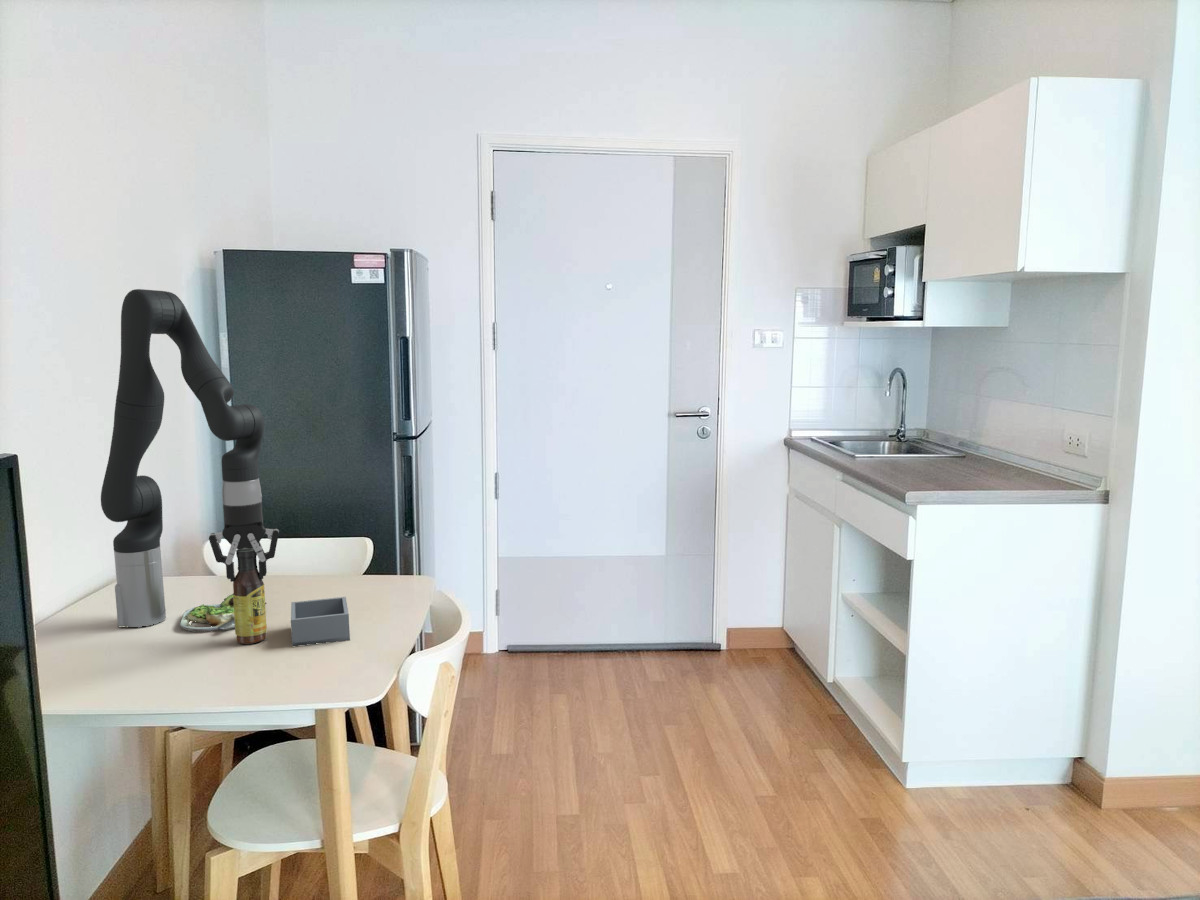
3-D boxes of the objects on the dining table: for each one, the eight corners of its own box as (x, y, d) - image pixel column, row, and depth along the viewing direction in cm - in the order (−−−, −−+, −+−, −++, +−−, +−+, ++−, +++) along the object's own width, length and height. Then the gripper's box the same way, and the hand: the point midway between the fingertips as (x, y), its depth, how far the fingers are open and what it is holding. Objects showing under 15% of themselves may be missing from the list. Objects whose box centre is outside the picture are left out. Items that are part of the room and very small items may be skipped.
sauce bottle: (260, 645, 181) (253, 553, 178) (230, 645, 181) (224, 553, 178) (272, 634, 187) (266, 545, 185) (244, 634, 188) (237, 545, 185)
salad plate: (261, 632, 190) (260, 612, 189) (172, 641, 184) (171, 621, 184) (268, 605, 208) (266, 587, 207) (187, 613, 203) (185, 594, 202)
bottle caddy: (292, 646, 180) (290, 620, 179) (292, 627, 192) (291, 602, 191) (349, 640, 184) (348, 614, 183) (346, 621, 196) (345, 596, 195)
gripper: (202, 506, 174) (208, 587, 176) (278, 501, 179) (283, 580, 181) (206, 499, 181) (212, 577, 183) (279, 495, 186) (283, 571, 188)
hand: (247, 578), depth 182 cm, fingers closed on sauce bottle, 5 cm apart
